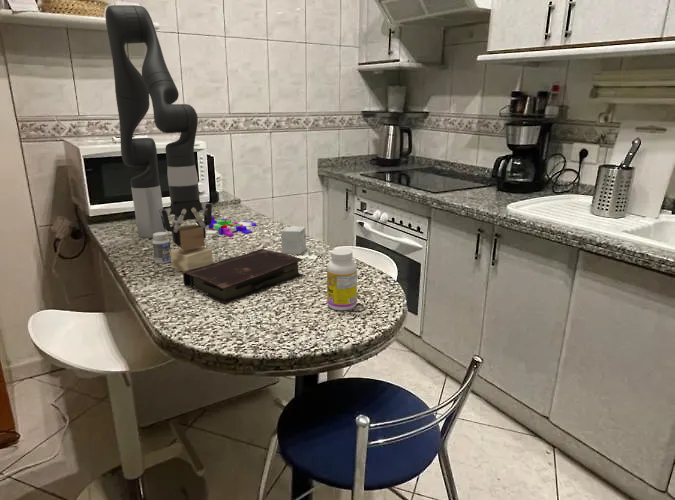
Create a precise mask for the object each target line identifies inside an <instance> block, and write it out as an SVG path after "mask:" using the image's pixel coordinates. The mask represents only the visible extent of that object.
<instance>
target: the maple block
mask: <svg viewBox="0 0 675 500" xmlns="http://www.w3.org/2000/svg"><path fill="white" fill-rule="evenodd" d="M170 256H171V261H170V262H171V268H172V269H175V270H177V269H178V271H180V272H183V271H187V270H191V269H195V268H199V267H203V266H207V265H210V264H213V263H214V262H213V261H214V260H213V249H212V248H208V247H206V246H201V247H196V248H191V249H185V250H183V249H182V248H180V247H179V248H178V249H174V250H171V251H170Z"/></svg>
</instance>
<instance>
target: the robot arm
mask: <svg viewBox="0 0 675 500" xmlns="http://www.w3.org/2000/svg"><path fill="white" fill-rule="evenodd" d="M105 24H106V30H107V31H106V32H107V37H108V41H109V47H110V53H111V59H112V60H111V61H112V66H113V76H114V78H113V79H114V89H115V91H114V92H115V101H116V105H117V106H116V107H117V112H118V113H117V114H118V118H119V136H120V155H121V159H122V162H123V164H124V165H125V166H127V167H132V168H134V167H147V168H146V170H145V171H144V172H142V173H140V174H139V175H136V176H134V177H132V178H131V179H130V187H131V194H132V195H131V196H132V202H133V208H134V215H135V223H136V229H137V235H138V237H140V238H145V239H146V238H147V239H148V238H149V239H150V238H153V234H154V233H157V232H167V233H170V232H171V237H172V242H173V243H174V244H175V246H177V247H179V245H181V244H180V235H179V232H178V230H179V227H180V226H182V223H183V222H184V221H185V222H186V221H189V220H191V221H192V220H194V221H195V223H197V224H198V226H200V227H202V228H203V232H204V240H205V239H206V238H207V234H206V229H205V227H206V226H207V225H210V224H211V218H212V216H213V214H212V213H213V204H212V203H209V202H203V203H202V202H201V200H200V198H201V197H200V188H199V177H198V172H197V169H196V159H195V151H194V150H195V143H196V136H197V130H198V126H199V125H198V124H199V118H198V117H199V116H198V114H197V111H196V110H195V108H194V107H193V106H192V105H191V104H186V103H177V104H176V101H178V99H179V94H180V93H179V90H178V88H177V86H176V84H175V81H174V79H173V77H172V74H171V73H170V71H169V69H168V67H167V64H166V63H167V62H166V61H165V58H164V54H163V51H162V48H161V44H160V40H159V38H158V35H157V32H156V29H155V25H154V22H153V19H152V17H151V15H150V13H149V11H148V9H147V8H146V7H144V6H142V5H131V4H129V5H127V4H125V5H123V4H122V5H118V4H115V5H108V6H107V7H106V9H105ZM142 43H143V44H145V45H146V54H145V57H144V60H143V62H142V66H141V73H140V71H138V69H137V68H136V67H135V65H134V63H132V61H131V60H130V58H129V56H128V55H127V52H126V48H125V45H126V44H129V45H130V44H142ZM150 100H151V104H152V110H153V120H154V124H155V126H156V128H157V129H158V130H159V132H162V133H164V134H175V133H176V134H177V133H179V134H180V135H179V137H178V139H177V140H176V141H173V142H170V143H167V144H166V145H165V156H166V164H167V165H166V166H167V172H166V173H167V183H168V190H169V199H170V200H169V201H170V205H169V207H167V208H164V206H163V198H162V197H163V196H162V191H161V183H160V182H161V181H160V176H159V166H158V165H159V164H158V151H157V150H158V149H157V146H156V142H155V140H154V139H153V138H152V137H136V138H135V137H134V133H135V130H136V129H137V127H138V126H139V124H140V123H141V122H142V120H143V119H144V118H145V116H146V115H147V114H148V112H149V109H150ZM201 210H203V212H204V213H203V219H204V221H202V216H200V214H199V213H200V211H201ZM171 213H172V214H173V215H174V216H173V219H172V223H170V220H169V217H170V214H171ZM171 224H172V225H171Z"/></svg>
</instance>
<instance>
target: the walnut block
mask: <svg viewBox="0 0 675 500" xmlns="http://www.w3.org/2000/svg"><path fill="white" fill-rule="evenodd" d="M178 232H179V235H180V244H181V245H179V246H178V247H179V249H180V248H182V249H183V250H185V249H191V248H196V247H206V244H205V242H206V241H205V239H204V232H203V228H202V227H200V226H198V225H196V224H195V223H194V224H187V225H180V227H179V230H178Z"/></svg>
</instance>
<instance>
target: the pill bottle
mask: <svg viewBox="0 0 675 500" xmlns="http://www.w3.org/2000/svg"><path fill="white" fill-rule="evenodd" d="M152 239H153V240H152V243H151V244H152V251H153V257H154V262H155V263H156V264H166V263H170V262H171V256H170V251H172V250H171V249H172V248H171V240H170V239H169V235H168V231H166V232H157V233H154V234H153V237H152Z"/></svg>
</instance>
